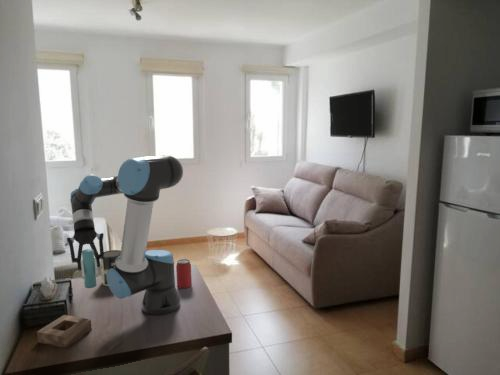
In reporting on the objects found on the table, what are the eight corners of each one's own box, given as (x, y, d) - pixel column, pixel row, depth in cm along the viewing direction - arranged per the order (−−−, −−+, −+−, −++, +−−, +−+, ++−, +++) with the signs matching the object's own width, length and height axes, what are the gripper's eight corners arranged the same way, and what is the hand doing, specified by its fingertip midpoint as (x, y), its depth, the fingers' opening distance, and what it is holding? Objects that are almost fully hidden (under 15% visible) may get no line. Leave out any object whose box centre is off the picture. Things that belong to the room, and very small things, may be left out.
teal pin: (98, 284, 143) (95, 249, 141) (91, 288, 140) (88, 253, 137) (90, 283, 144) (87, 248, 142) (82, 287, 141) (79, 252, 138)
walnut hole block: (91, 329, 135) (90, 319, 134) (66, 348, 124) (65, 337, 123) (65, 324, 138) (64, 314, 138) (38, 342, 127) (36, 331, 127)
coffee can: (129, 280, 178) (127, 251, 176) (111, 288, 170) (109, 258, 167) (115, 275, 184) (113, 248, 181) (97, 283, 175) (94, 254, 173)
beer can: (174, 286, 171) (173, 261, 169) (186, 281, 175) (185, 257, 173) (182, 290, 166) (181, 265, 164) (194, 286, 170) (193, 261, 169)
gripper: (105, 225, 156) (114, 276, 144) (60, 231, 149) (65, 285, 137) (106, 215, 151) (114, 267, 139) (59, 221, 143) (64, 276, 131)
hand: (90, 276), depth 138 cm, fingers closed on teal pin, 4 cm apart
